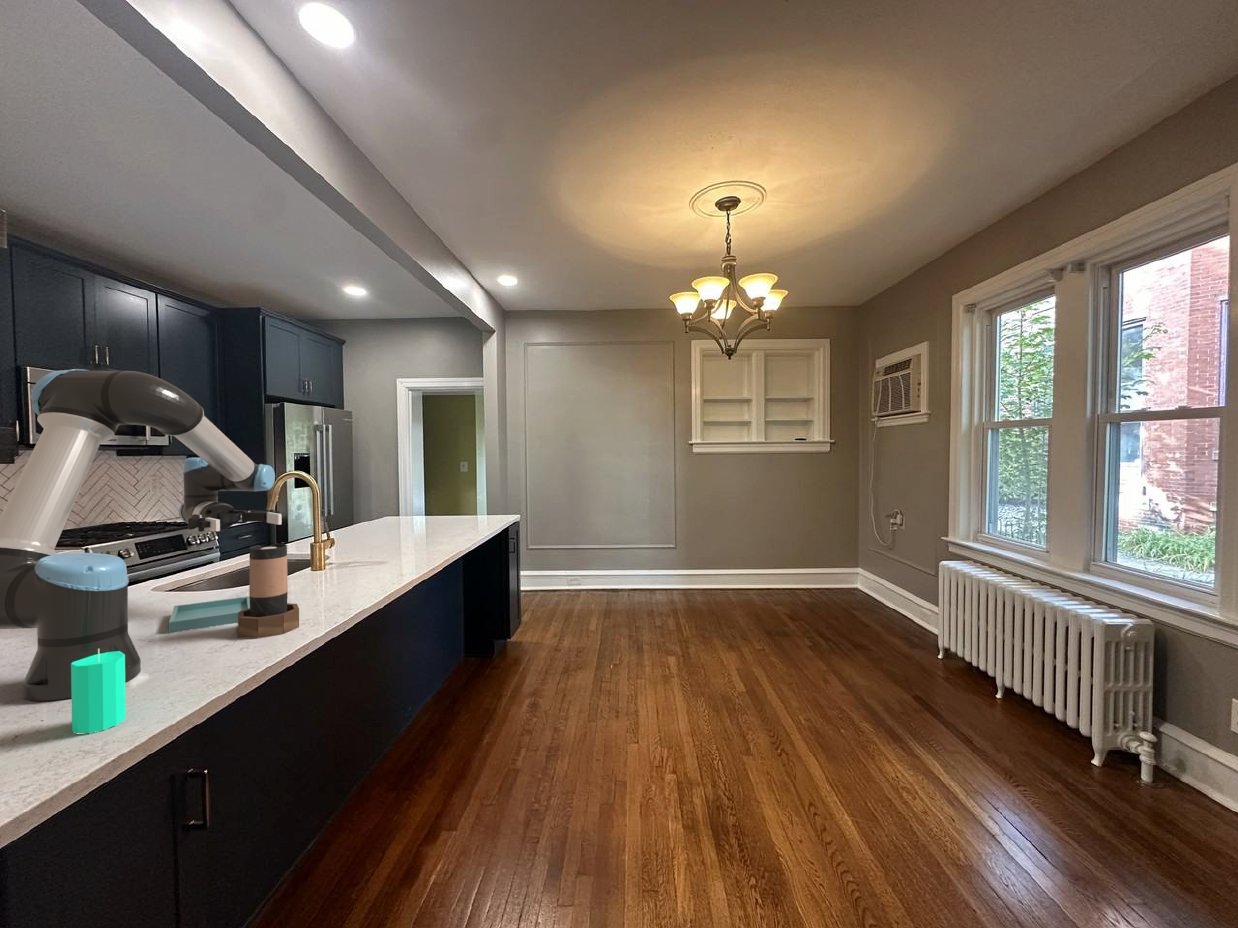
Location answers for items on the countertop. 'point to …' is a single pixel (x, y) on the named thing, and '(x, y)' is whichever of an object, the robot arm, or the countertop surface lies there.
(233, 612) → the slate tray
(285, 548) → the travel mug
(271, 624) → the walnut collar
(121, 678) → the candle
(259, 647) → the countertop surface
